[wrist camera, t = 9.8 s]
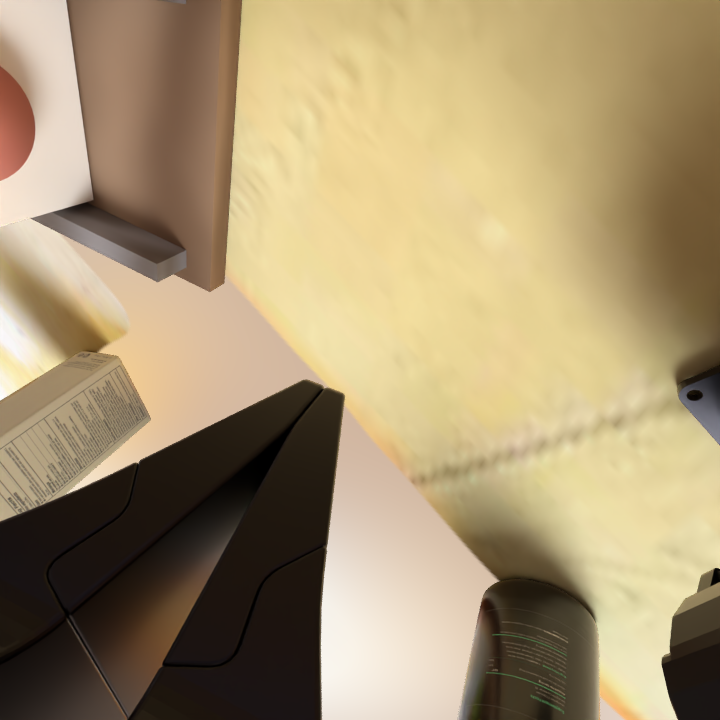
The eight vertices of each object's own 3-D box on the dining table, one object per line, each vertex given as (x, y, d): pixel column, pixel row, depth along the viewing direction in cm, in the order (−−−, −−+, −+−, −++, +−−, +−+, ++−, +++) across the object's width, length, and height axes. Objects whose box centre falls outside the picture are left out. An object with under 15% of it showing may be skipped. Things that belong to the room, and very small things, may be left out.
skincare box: (81, 348, 34) (-113, 459, 24) (121, 353, 32) (-72, 476, 23) (117, 415, 37) (-43, 536, 28) (154, 423, 35) (-2, 555, 26)
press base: (244, -44, 16) (155, -69, 12) (224, 283, 24) (168, 317, 21) (-84, -155, 18) (-226, -199, 15) (2, 175, 27) (-77, 191, 24)
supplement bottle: (582, 658, 29) (578, 934, 20) (477, 617, 31) (430, 846, 22) (613, 603, 25) (624, 911, 16) (490, 560, 28) (440, 809, 18)
